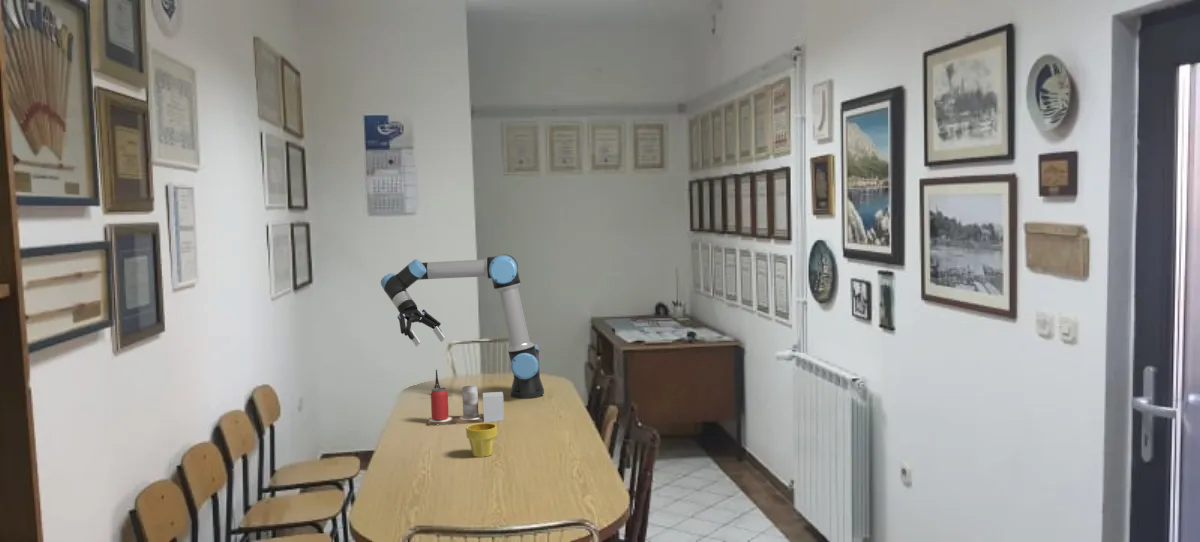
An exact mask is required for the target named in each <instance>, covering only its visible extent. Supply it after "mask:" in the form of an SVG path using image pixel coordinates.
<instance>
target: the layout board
mask: <svg viewBox="0 0 1200 542" xmlns="http://www.w3.org/2000/svg"><path fill="white" fill-rule="evenodd" d="M478 391H479V390H478V386H477V385H465V386H463V387H461V394H462V414H463V415H453V416H452V415H451V416H450V415H449V417H448V419H446V420H440V421H436V420H433V419H432V417H429V418H428V422H427V424H428V425H433V426H438V425H437V424H448V425H457V424H456V423H463V424H478V423H484V418H483V414H479V396H478V395H479V394H478Z"/></svg>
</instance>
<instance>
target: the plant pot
mask: <svg viewBox="0 0 1200 542" xmlns="http://www.w3.org/2000/svg"><path fill="white" fill-rule="evenodd" d="M465 432H466V438H467V439H468V441H469V445H470V449H471V452H472V456H473V457H475V456H476V458H485V457H484V456H487V457H490V456H492V455H493V454H494V448H495V446H494V445H495V443H496V442H495V440H496V438H497V435H498V427H497V425H496V424H495V423H492V422H479V423H472V424H469V425H468V426H466V427H465ZM489 455H490V456H489Z"/></svg>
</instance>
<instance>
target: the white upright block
mask: <svg viewBox="0 0 1200 542" xmlns="http://www.w3.org/2000/svg"><path fill="white" fill-rule="evenodd" d="M504 401H505V400H504V393H503V391H493V392H492V391H491V392H483V393H482V407H483V423H492V422H504V421H505V407H504V406H505V405H504Z"/></svg>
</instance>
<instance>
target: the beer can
mask: <svg viewBox="0 0 1200 542" xmlns="http://www.w3.org/2000/svg"><path fill="white" fill-rule="evenodd" d="M430 394H431V396H430V405H431V410H430V411H431V418H432V419H433V420H436V421H440V420H446V419H448V417H450V415H449V397H448V395H449V394H448V391H447V388H446V387H440V388H439V387H438V388H434V387H433V388H432V389H431V393H430Z"/></svg>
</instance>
